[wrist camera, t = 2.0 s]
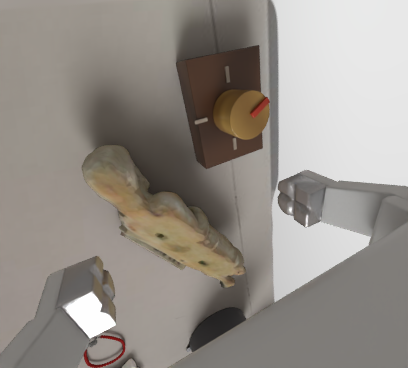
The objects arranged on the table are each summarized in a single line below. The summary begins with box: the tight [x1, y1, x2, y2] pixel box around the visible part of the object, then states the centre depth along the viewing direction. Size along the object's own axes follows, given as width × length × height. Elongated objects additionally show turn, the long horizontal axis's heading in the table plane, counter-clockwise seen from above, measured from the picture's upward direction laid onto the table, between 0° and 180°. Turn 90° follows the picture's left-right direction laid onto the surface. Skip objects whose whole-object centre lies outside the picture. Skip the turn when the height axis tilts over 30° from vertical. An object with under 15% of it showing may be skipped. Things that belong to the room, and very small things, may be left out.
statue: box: [82, 145, 246, 287], centre depth 27 cm, size 10×7×30 cm
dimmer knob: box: [213, 89, 270, 140], centre depth 20 cm, size 4×4×4 cm
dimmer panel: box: [176, 45, 263, 169], centre depth 23 cm, size 11×9×3 cm
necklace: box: [84, 335, 125, 368], centre depth 32 cm, size 9×6×1 cm
